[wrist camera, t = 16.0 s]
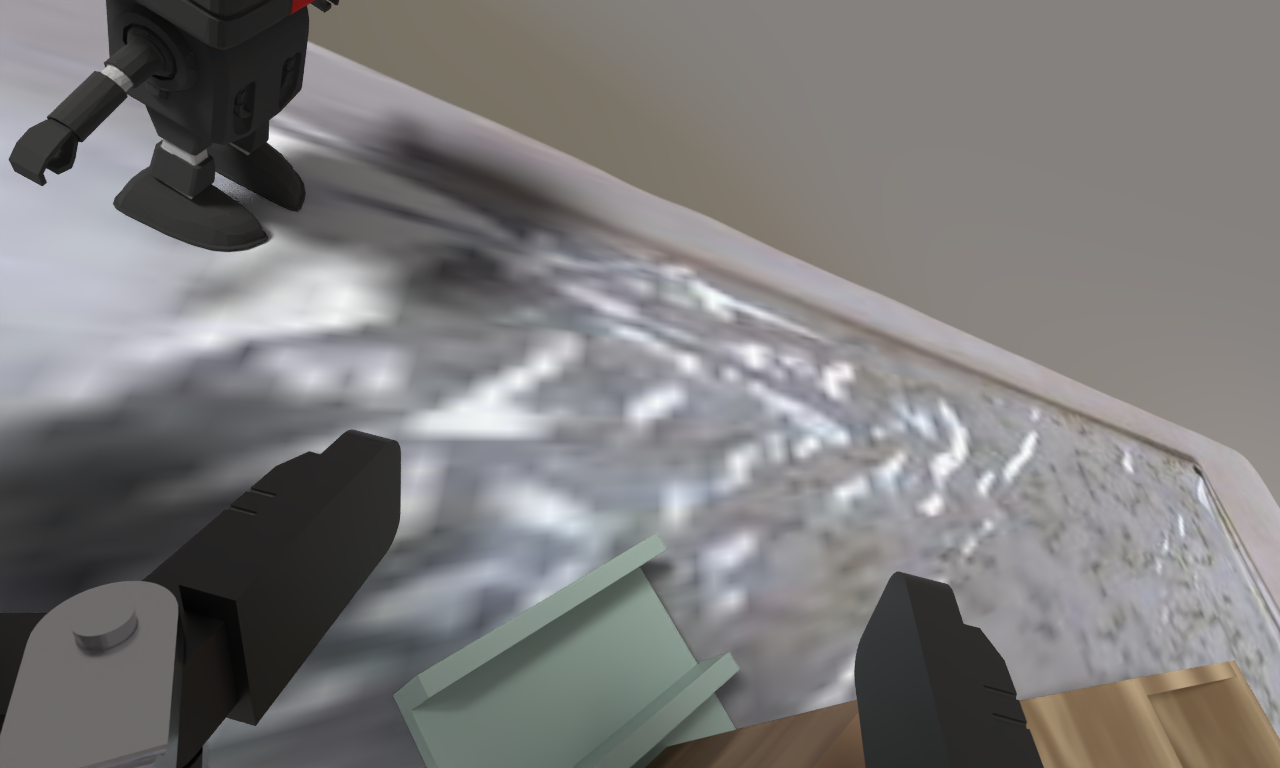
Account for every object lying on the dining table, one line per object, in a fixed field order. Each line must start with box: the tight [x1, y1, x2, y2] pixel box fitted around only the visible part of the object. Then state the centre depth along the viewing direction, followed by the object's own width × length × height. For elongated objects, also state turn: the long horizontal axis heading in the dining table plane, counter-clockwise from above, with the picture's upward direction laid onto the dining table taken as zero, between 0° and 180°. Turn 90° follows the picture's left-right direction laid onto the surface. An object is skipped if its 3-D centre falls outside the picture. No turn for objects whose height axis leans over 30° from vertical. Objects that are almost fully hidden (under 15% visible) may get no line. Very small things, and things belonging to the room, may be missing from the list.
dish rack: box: [393, 533, 740, 768], centre depth 32 cm, size 15×14×4 cm
